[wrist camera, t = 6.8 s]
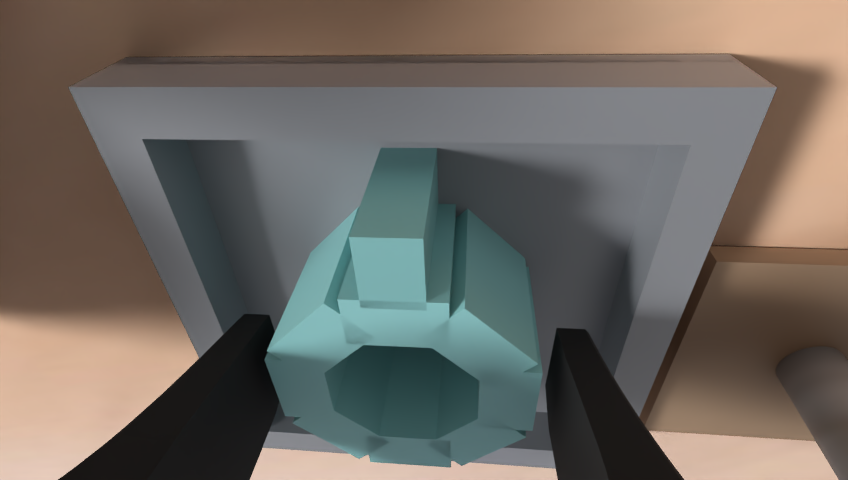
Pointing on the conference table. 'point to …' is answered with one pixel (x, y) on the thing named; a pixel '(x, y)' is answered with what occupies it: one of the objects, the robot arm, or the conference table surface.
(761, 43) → the conference table surface
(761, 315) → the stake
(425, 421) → the ring
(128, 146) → the tray
